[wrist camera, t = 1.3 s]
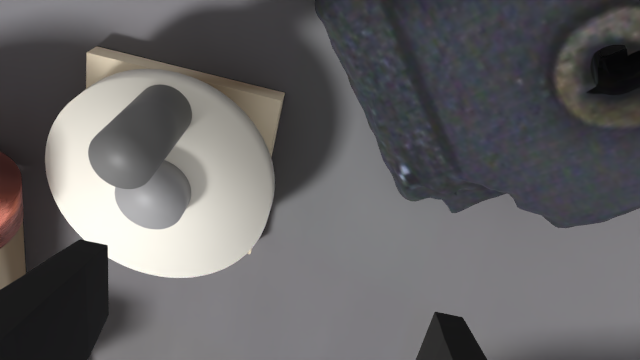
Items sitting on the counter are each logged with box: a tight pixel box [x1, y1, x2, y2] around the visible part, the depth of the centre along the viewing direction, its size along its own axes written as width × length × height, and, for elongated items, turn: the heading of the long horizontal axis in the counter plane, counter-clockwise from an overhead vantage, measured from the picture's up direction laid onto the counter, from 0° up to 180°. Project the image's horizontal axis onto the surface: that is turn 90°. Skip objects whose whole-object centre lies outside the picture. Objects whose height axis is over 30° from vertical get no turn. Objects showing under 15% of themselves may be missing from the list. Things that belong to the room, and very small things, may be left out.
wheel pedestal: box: [86, 46, 285, 254], centre depth 21 cm, size 7×7×2 cm
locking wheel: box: [45, 69, 275, 278], centre depth 18 cm, size 8×8×4 cm
